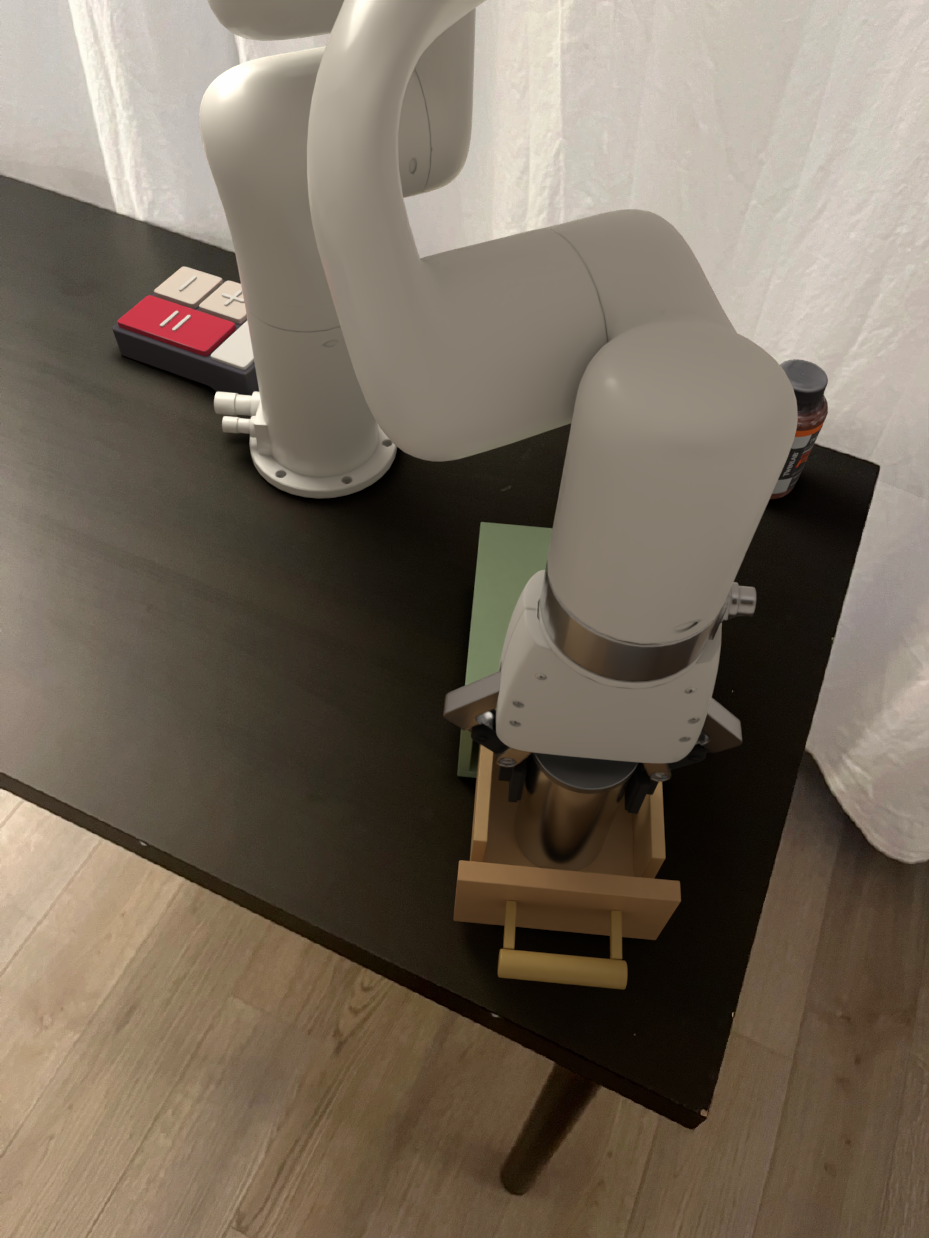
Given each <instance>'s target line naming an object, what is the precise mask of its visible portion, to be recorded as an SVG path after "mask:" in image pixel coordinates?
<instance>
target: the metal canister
mask: <svg viewBox="0 0 929 1238" xmlns="http://www.w3.org/2000/svg"><path fill="white" fill-rule="evenodd" d="M638 763H639V762H628V761H616V760H605V759H593V758H583V757H573V756H562V755H553V754H543V753H535V752H532V753H531V754H530V755H529V756H528V757H527V771H526V777H525V782H524V787H523V792H522V796H521V801H520V800H518V805H517V810H516V815H515V820H514V835H515V839H516V842H517V845H518V847H519V849H520V850H521V852H522V853H523V854H524V856H525V857H526V858H527V859H528V860H529V861H530V862H531V863H533V864H534V865H536V866H537V867H539V868H547V869H558V870H568V871H579V870H581V869H583V868H585V867H587V866H588V865H590V864H591V863H592V862H593V861H594V860H595V859H596V858H597V856H598V855H599V853H600V851H601V849H602V847H603V844H604V842H605V839H606V837H607V834H608V832H609V829H610V827H611V824H612V822H613V819H614V817H615V814H616V812H617V810H618V807H619V805H620V802H621V800H622V797H623V795H624V792H625V790H626V787H627V785H628V782H629V780H630V777H631V775H632V774H633V773H634V771H635V769H636V767H637V765H638Z"/></svg>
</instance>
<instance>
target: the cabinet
mask: <svg viewBox="0 0 929 1238" xmlns="http://www.w3.org/2000/svg"><path fill="white" fill-rule="evenodd" d="M552 529H553V527H540V526H529V525H519V524H510V523H509V524H507V523H496V522H485V521H481V522H480V526H479V533H478V534H479V535H478V545H477V546H478V547H477V556H476V557H477V558H476V567H475V576H474V577H475V578H474V586H473V587H474V590H473V598H472V608H471V619H470V628H469V630H470V631H469V640H468V649H467V651H468V652H467V659H466V661H467V662H466V670H465V671H466V672H465V682H464V686H465V685H468V684H470V683H473V682H475V681H477V680H480V679H482V678H484V677H487V676H489V675H491V674H494V673H496V672H499V665H500V659H501V655H502V650H503V645H504V641H505V637H506V633H507V630H508V626H509V623H510V620H511V617H512V614H513V611H514V608H515V606H516V604H517V601H518V599H519V597H520V595H521V593H522V591H523V589H524V588H525V586H526V584H527V583H528V581H529V580H530V578H531V577H532V576H533V575H534V574H536V573H537V572H538V571H541V570H545V569H546V563H547V557H548V552H549V546H550V541H551V534H552ZM495 710H496V709H495ZM459 736H460V737H459V749H458V750H459V751H458V761H457V762H458V763H457V773H456V775H457V777H463V778H474V779H477V766H478V754H479V743H477V742H476V741H474V740H473V739H472V738H471V732H469V731H468V730H465V731H464V730H462V729H461V728H460V735H459Z"/></svg>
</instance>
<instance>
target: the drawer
mask: <svg viewBox="0 0 929 1238" xmlns="http://www.w3.org/2000/svg"><path fill="white" fill-rule="evenodd" d="M496 760H497V754H495V753H494V752H492V751H490V750H489V749H487V748H486V747H484V746H482V745H481V744H479V754H478V766H477V778H475V779H476V780H475V791H474V792H475V793H474V805H473V817H472V826H471V827H472V830H471V842H470V853H469V860H463V859H462V860H461V859H460V860H459V861H458V869H457V879H456V886H455V887H456V888H455V898H454V908H453V921H454V922H463V923H464V922H465V923H473V924H483V925H491V926H493V925H494V926H503V944H502V946H503V947H502V948H500V949H499V953H498V960H497V977H498V978H502V979H511V980H520V981H531V982H541V983H553V984H561V985H573V986H582V987H594V988H603V989H612V990H613V989H614V990H625V989H626V987H627V985H628V975H629V974H628V964H627V961H626V960H623V938H630V939H639V940H650V941H656V940H657V939H658V938H659V936H660V934H661V933H662V931H663V929H664V928H665V927H666V926H667V923H668V922H669V921H670V919H671V917H672V916H673V914H674V913H675V911H676V910H677V908H678V907H679V905H680V903H681V902H682V894H681V893H682V892H681V882H680V880H674V879H673V880H671V879H662V878H656V876H657V875H658V873H659V871H660V870H661V867H662V866H663V863H665V862H664V861H666V859H667V858H666V837H665V816H664V795H663V794H664V792H663V782H659V783H658V785H657V787H656V789H655V791H654V793H653V795H648V794H646V796H645V799H644V801H643V803H642V805H641V808H640V810H639V812H638V814H633V813H628V811H626V810H625V797H624V795H623V797H622V800H621V802H620V805H619V807H618V810H617V812H616V814H615V817H614V819H613V822H612V824H611V827H610V829H609V832H608V834H607V837H606V839H605V842H604V844H603V847H602V849H601V851H600V853H599V855H598V856H597V858H596V859H595V860H594V861H593V862H592V863H591V864H590V865H588V866H587V867H585V868H583V869H581V870H579V871H568V870H558V869H547V868H539V867H537V866H536V865H534V864H533V863H531V862H530V861H529V860H528V859H527V858H526V857H525V856H524V854H523V853H522V852H521V850H520V849H519V847H518V845H517V842H516V839H515V835H514V820H515V815H516V810H517V805H518V800H517V803H516V802H508V793H509V781H499V780H498V769H499V765H498V764H497V762H496ZM516 928H526V929H535V930H545V931H546V930H547V931H556V932H566V933H577V934H588V935H596V936H597V935H599V936H609V958H604V957H603V958H602V957H601V958H600V957H593V956H582V955H581V956H580V955H571V954H570V955H569V954H561V953H560V954H558V953H549V952H539V951H528V950H520V949H519V950H518V949H515V946H516Z"/></svg>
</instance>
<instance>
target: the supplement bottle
mask: <svg viewBox="0 0 929 1238" xmlns="http://www.w3.org/2000/svg"><path fill="white" fill-rule="evenodd" d="M779 365H780V366H781V367H782V368H783V370H784V371H785V373H786V375H787V377H788V379H789V380H790V383H791V385H792V387H793V390H794V393H795V397H796V400H797V415H798V421H797V429H796V433H795V438H794V441H793V444H792V447H791V449H790V452H789V455H788V458H787V460H786V463H785V465H784V467H783V469H782V472H781V474H780V476H779V479H778V481H777V483H776V485H775V488H774V490H773V492H772V495H771V497H770V499H769V501H771V500H778V499H782V498H784V497H786V496H787V495H788V494H789V493H791V492H792V490H793V489H794V488H795V485H796V484H797V482H798V480H799V478H800V476H801V474H802V473H803V470H804V468H805V466H806V463H807V461H808V458H809V457H810V454H811V452H812V450H813V448H814V445H815V443H816V441H817V439H818V437H819V435H820V432H821V431H822V429H823V426H824V423H825V421H826V419H827V416H828V414H829V404H828V400H827V398H826V395H825V392H826V388H827V387H828V384H829V383H828V382H829V378H828V375H827V373H826V371H825V370H824V369H823V368H822V367H820V366H819V365H818V364H817V363H814V362H812V361H808V360H805V359H796V358H795V359H794V358H793V359H788V360H784V361H783V362H781V363H779Z"/></svg>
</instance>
